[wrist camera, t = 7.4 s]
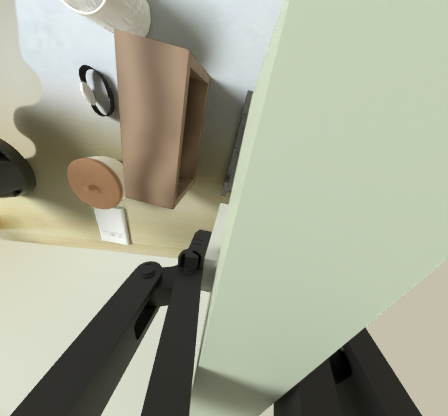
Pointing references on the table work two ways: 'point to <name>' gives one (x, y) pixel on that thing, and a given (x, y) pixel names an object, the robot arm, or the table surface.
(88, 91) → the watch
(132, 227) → the table surface
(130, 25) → the white cup
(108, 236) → the external hard drive
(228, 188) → the clip rail
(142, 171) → the cabinet
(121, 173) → the lidded jar
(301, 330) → the door panel
